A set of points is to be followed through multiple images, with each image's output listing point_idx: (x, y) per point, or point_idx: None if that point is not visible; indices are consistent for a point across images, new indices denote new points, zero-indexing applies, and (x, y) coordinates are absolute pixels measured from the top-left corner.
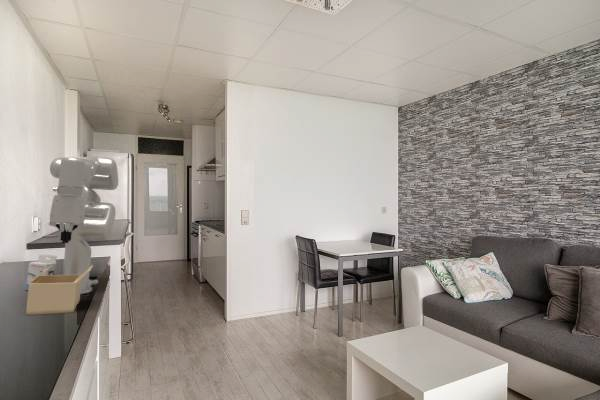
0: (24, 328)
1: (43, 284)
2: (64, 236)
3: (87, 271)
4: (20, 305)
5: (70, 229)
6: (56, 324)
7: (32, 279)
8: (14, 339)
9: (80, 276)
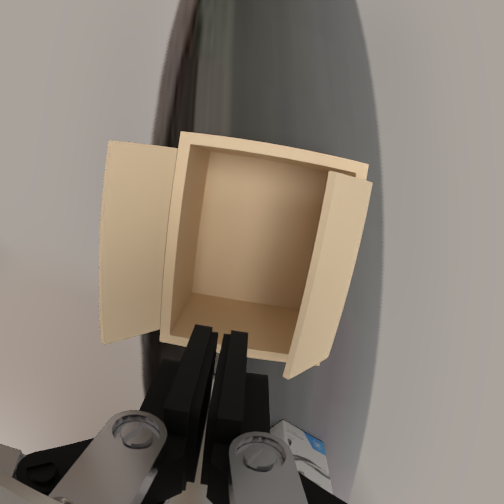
0: (326, 33)
1: (314, 152)
2: (223, 375)
3: (117, 142)
4: (348, 295)
5: (128, 447)
6: (253, 33)
7: (364, 180)
8: None
9: (162, 297)
